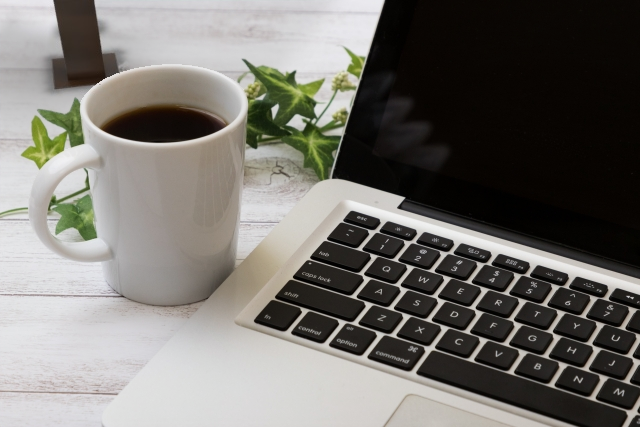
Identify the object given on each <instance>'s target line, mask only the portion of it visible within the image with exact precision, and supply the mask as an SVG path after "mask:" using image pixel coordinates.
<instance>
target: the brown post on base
mask: <svg viewBox="0 0 640 427" xmlns="http://www.w3.org/2000/svg"><path fill="white" fill-rule="evenodd" d="M52 2H53V6H54V7H53V8H54V12H55V18H56V22H57V28H58V33H59V40H60V44H61V51H62V55H63V57H59V58H51V66H52V67H51V68H52V78H53V89H54V90H60V89H70V88H71V89H72V88H79V87H89V86H97V85H96V84H97V83H99V82H100V81H102V80H103V79H105V78H107V77H110V76H112V75H114V74H116V73H119V74H120V70H119V65H118V61H117V56H116V53H115V52H107V53H103V49H102V43H101V42H102V41H101V36H100V28H99V23H98V16H97V10H96V2H95V0H52Z"/></svg>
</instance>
